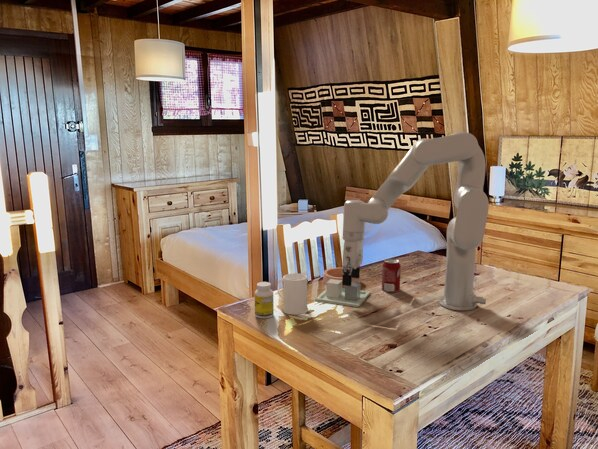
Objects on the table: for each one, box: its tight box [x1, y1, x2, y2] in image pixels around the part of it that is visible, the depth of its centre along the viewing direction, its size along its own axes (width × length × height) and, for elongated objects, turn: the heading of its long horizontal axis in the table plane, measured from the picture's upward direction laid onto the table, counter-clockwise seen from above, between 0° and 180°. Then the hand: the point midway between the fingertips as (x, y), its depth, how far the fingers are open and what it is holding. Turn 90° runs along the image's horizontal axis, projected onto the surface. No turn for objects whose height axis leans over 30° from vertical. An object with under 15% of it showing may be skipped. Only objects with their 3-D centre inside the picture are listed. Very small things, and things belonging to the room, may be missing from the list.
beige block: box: [325, 279, 342, 299], centre depth 182 cm, size 4×4×6 cm
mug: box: [276, 272, 308, 316], centre depth 169 cm, size 12×8×12 cm
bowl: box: [322, 267, 361, 288], centre depth 197 cm, size 14×14×4 cm
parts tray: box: [315, 288, 371, 308], centre depth 181 cm, size 16×15×1 cm
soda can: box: [381, 258, 402, 293], centre depth 188 cm, size 7×7×12 cm
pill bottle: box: [254, 281, 275, 319], centre depth 164 cm, size 6×6×11 cm
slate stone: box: [345, 282, 362, 301], centre depth 179 cm, size 4×4×6 cm
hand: (350, 281), depth 178 cm, fingers open, 9 cm apart
